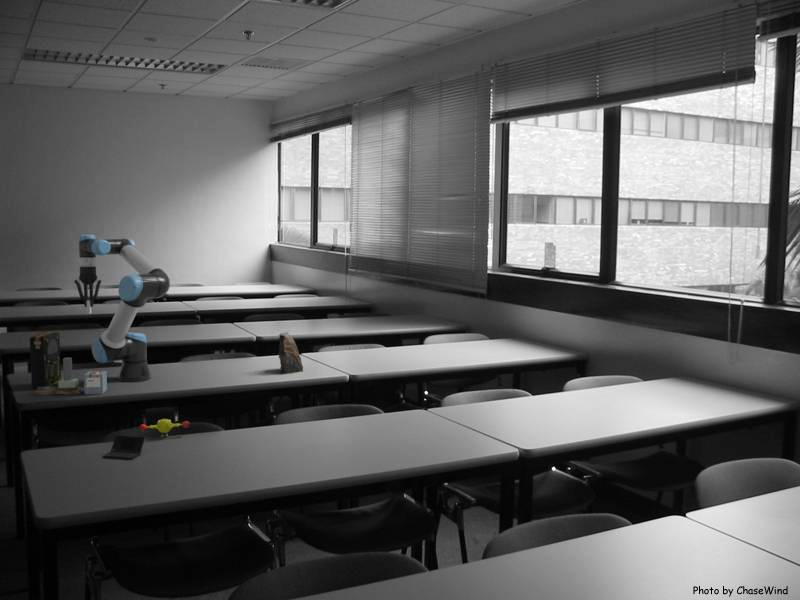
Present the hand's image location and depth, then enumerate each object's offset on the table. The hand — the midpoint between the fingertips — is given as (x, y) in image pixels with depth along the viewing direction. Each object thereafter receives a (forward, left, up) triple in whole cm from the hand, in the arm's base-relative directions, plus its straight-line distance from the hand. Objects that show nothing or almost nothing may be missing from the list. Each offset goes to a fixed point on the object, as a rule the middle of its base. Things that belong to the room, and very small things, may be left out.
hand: (89, 313), depth 387 cm
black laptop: (-42, +130, -33) cm, 141 cm away
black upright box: (+16, +18, -33) cm, 40 cm away
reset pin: (-10, +33, -28) cm, 44 cm away
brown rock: (-99, -8, -33) cm, 104 cm away
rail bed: (+7, +33, -32) cm, 47 cm away
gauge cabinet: (-10, +33, -32) cm, 47 cm away
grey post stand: (+2, +33, -29) cm, 44 cm away
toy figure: (-52, +109, -33) cm, 125 cm away
